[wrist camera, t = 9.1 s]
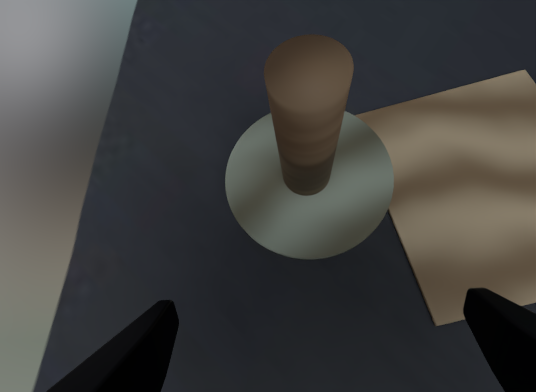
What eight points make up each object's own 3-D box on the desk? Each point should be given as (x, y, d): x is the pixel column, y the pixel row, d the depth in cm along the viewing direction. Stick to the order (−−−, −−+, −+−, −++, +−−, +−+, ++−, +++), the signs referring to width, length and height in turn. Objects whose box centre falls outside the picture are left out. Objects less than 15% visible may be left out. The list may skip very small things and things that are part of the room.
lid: (426, 183, 20) (560, 63, 9) (299, 297, 18) (293, 303, 8) (311, 87, 24) (316, -72, 13) (199, 174, 22) (108, 71, 12)
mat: (666, 270, 19) (671, 270, 19) (434, 325, 20) (436, 326, 19) (522, 71, 25) (524, 69, 25) (350, 118, 26) (351, 116, 26)
